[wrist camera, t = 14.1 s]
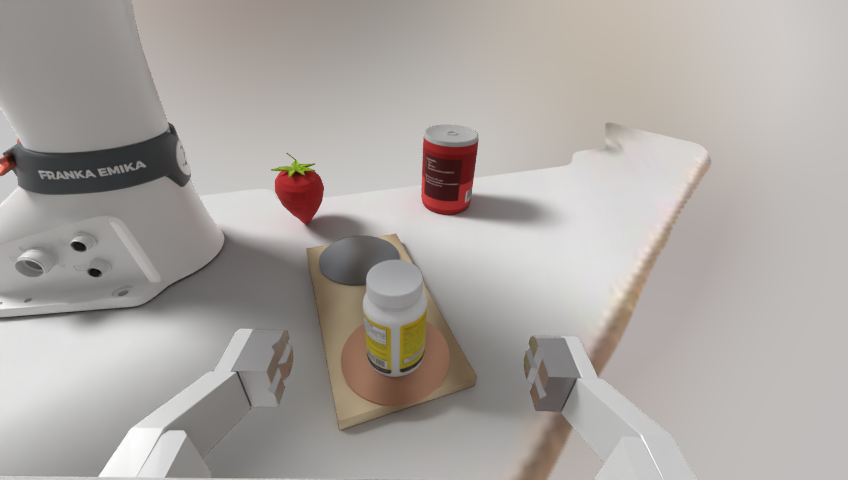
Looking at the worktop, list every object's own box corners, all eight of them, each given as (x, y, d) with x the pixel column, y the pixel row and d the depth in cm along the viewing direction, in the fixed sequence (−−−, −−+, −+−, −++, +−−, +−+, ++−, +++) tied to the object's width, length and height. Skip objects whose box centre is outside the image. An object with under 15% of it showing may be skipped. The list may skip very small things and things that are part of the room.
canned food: (460, 189, 60) (467, 123, 54) (478, 213, 53) (488, 140, 47) (415, 193, 58) (417, 125, 52) (428, 218, 52) (432, 143, 45)
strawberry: (288, 242, 45) (273, 167, 40) (278, 214, 51) (263, 146, 45) (334, 231, 48) (326, 160, 42) (320, 206, 53) (310, 140, 47)
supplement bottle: (423, 332, 32) (428, 256, 27) (425, 378, 28) (431, 300, 23) (369, 331, 32) (364, 255, 27) (363, 379, 28) (356, 299, 23)
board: (340, 436, 25) (338, 425, 25) (307, 254, 43) (305, 244, 42) (477, 390, 29) (479, 379, 28) (394, 239, 47) (394, 229, 46)
